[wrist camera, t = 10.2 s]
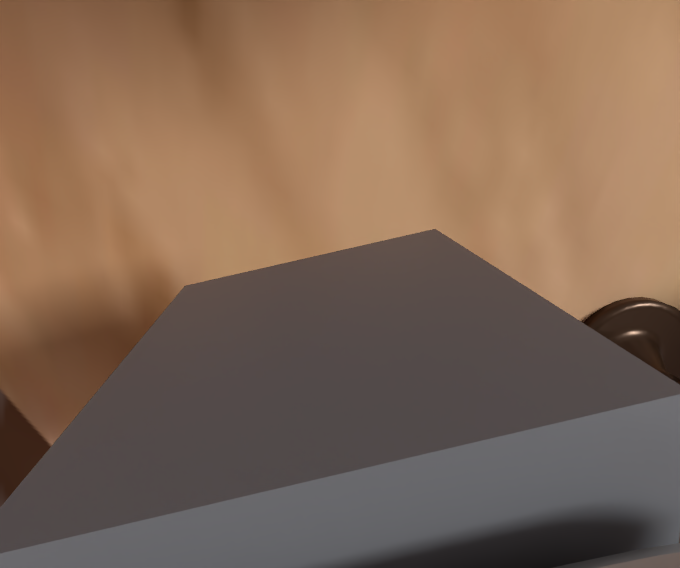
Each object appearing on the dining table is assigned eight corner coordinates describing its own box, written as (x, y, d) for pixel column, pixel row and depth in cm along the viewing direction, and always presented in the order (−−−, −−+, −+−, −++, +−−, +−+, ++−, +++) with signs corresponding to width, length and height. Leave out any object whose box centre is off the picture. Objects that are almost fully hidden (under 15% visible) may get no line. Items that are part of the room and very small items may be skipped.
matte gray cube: (435, 228, 13) (691, 392, 4) (463, 434, 15) (659, 789, 7) (184, 286, 13) (-46, 564, 4) (255, 483, 15) (195, 903, 7)
